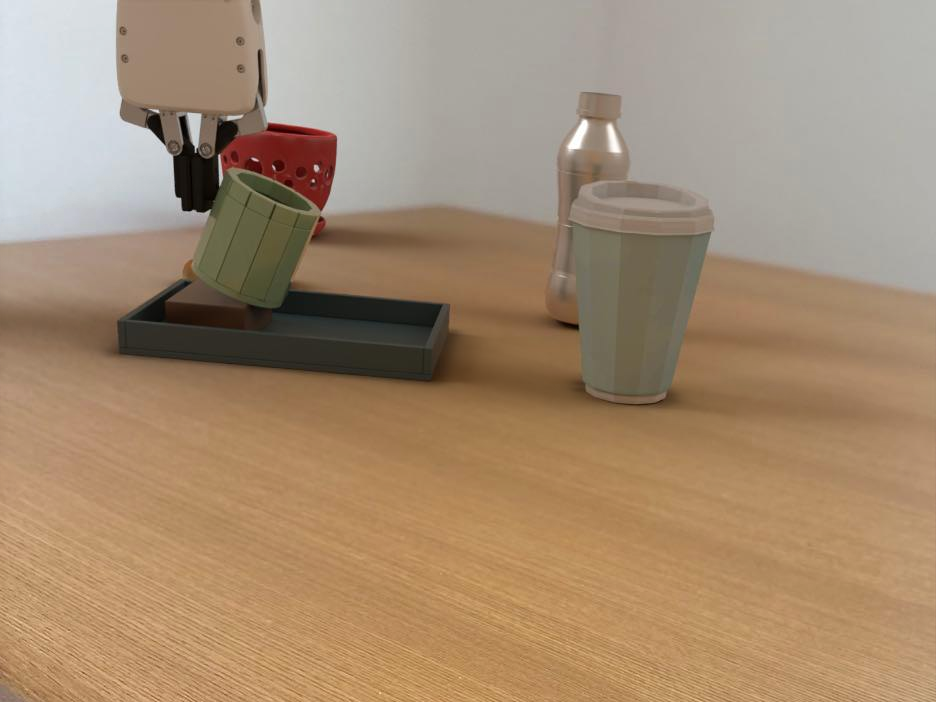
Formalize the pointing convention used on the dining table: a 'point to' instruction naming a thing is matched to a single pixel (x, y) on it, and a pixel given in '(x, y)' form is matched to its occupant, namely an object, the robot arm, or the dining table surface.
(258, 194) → the jar
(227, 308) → the riser
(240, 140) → the flower pot
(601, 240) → the disposable coffee cup
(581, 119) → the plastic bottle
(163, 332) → the tray
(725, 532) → the dining table surface
